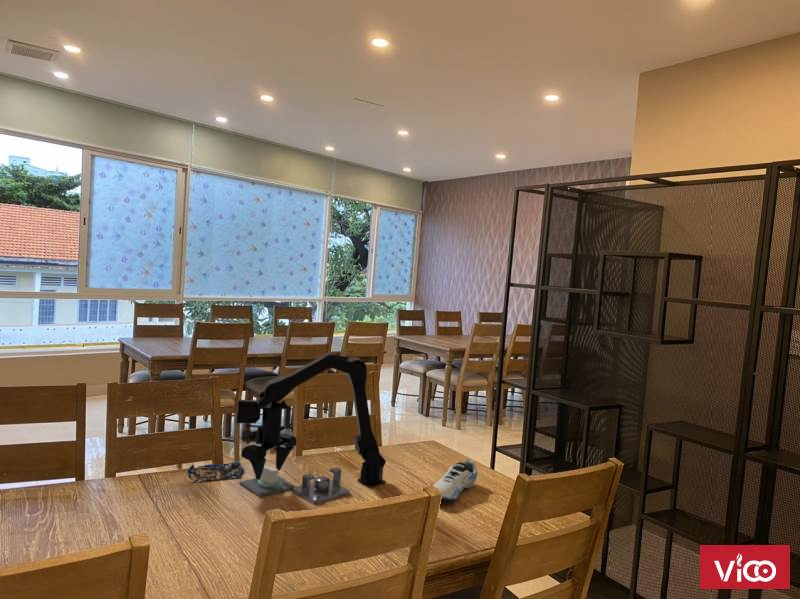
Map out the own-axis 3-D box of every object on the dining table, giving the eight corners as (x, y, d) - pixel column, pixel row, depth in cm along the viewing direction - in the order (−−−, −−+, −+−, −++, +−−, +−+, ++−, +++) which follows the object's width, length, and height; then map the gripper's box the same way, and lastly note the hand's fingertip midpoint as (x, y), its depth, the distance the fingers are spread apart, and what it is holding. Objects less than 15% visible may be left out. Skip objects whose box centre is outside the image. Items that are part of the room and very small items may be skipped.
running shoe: (420, 503, 165) (422, 472, 164) (455, 478, 186) (457, 451, 186) (448, 511, 160) (451, 480, 160) (480, 485, 182) (482, 458, 182)
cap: (286, 485, 168) (288, 469, 168) (273, 491, 163) (274, 475, 163) (262, 477, 173) (263, 462, 173) (248, 483, 168) (249, 467, 167)
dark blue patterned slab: (190, 485, 166) (191, 480, 166) (185, 469, 177) (186, 464, 177) (247, 479, 174) (247, 475, 173) (239, 464, 184) (239, 459, 184)
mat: (274, 475, 176) (274, 473, 176) (295, 488, 168) (295, 486, 168) (239, 483, 168) (239, 481, 168) (259, 497, 160) (259, 495, 159)
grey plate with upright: (327, 481, 175) (329, 462, 174) (349, 494, 167) (351, 474, 167) (291, 491, 166) (293, 471, 165) (313, 504, 158) (315, 483, 158)
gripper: (270, 412, 179) (267, 460, 180) (228, 424, 162) (225, 477, 163) (299, 418, 174) (295, 468, 175) (258, 432, 157) (255, 486, 158)
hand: (268, 474), depth 168 cm, fingers open, 9 cm apart
